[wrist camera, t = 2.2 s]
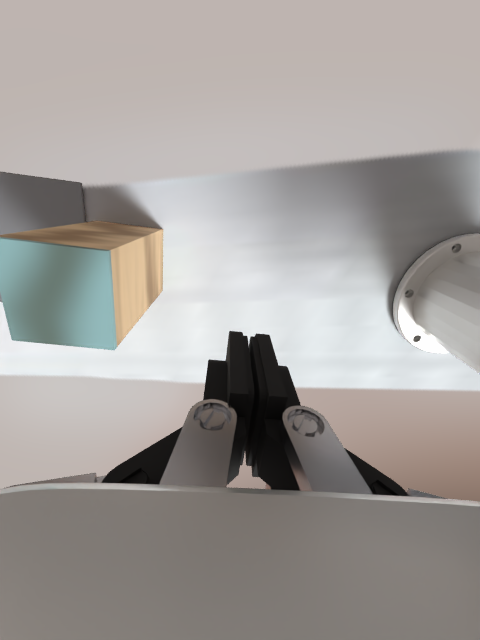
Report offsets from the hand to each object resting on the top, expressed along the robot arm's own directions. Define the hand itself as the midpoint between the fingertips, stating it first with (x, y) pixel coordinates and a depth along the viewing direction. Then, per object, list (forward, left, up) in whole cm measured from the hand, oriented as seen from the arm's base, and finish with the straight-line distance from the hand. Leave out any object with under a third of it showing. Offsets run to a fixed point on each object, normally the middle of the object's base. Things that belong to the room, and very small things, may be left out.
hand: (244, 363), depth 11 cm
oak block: (+10, 0, -17) cm, 20 cm away
